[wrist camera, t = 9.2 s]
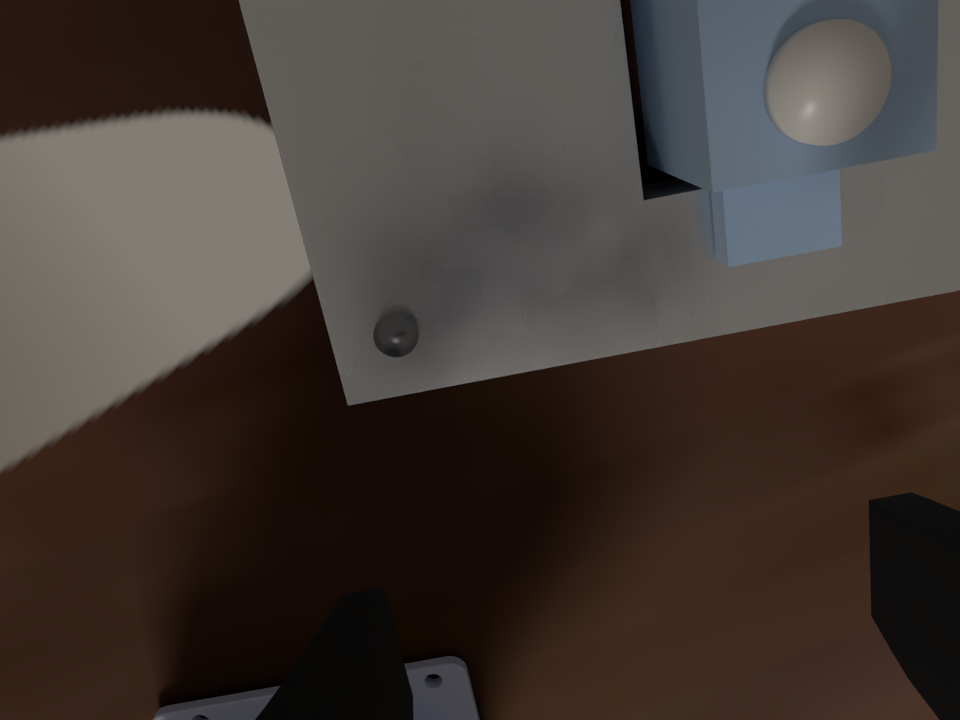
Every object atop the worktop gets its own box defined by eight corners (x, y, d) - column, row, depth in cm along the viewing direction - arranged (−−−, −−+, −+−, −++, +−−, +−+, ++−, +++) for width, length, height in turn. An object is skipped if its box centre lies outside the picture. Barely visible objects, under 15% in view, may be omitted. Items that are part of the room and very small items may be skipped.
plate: (357, 375, 20) (346, 408, 18) (188, -273, 15) (147, -328, 13) (1141, 226, 19) (1223, 243, 17) (1212, -499, 15) (1335, -594, 13)
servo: (656, 246, 19) (728, 304, 14) (604, -229, 16) (674, -374, 11) (817, 215, 19) (947, 263, 14) (799, -269, 16) (961, -434, 11)
